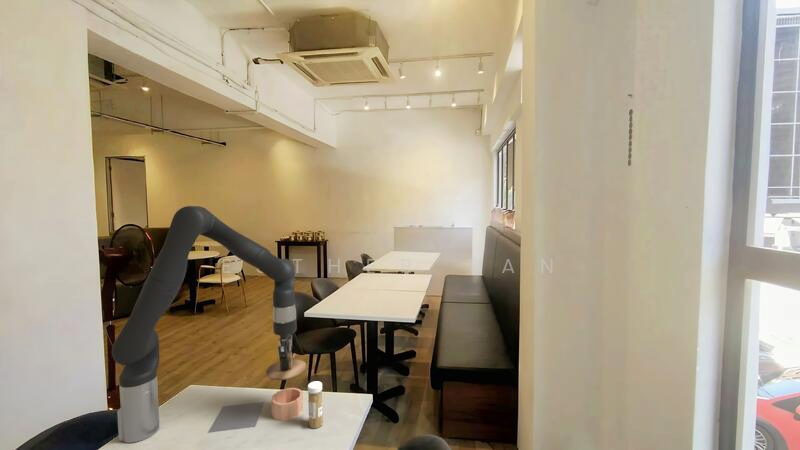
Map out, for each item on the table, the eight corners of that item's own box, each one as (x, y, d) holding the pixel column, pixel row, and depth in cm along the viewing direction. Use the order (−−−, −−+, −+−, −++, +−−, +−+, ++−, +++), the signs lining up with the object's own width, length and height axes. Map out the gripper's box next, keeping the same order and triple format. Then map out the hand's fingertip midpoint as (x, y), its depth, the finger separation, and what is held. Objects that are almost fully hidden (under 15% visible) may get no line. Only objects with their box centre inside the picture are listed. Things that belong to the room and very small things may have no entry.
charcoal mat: (207, 434, 102) (207, 432, 102) (223, 407, 116) (223, 406, 116) (255, 428, 105) (255, 426, 105) (264, 403, 119) (264, 401, 119)
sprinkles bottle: (325, 425, 106) (324, 385, 105) (311, 431, 103) (310, 389, 103) (320, 418, 110) (319, 379, 109) (306, 423, 107) (305, 383, 106)
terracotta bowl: (269, 424, 107) (268, 406, 107) (275, 406, 117) (274, 389, 117) (301, 420, 109) (300, 402, 109) (304, 402, 119) (303, 386, 118)
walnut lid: (262, 382, 105) (261, 365, 104) (270, 363, 117) (270, 349, 117) (304, 377, 107) (303, 361, 107) (307, 359, 120) (307, 345, 120)
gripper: (276, 312, 118) (278, 359, 118) (268, 326, 104) (270, 379, 105) (298, 311, 119) (300, 357, 120) (293, 324, 105) (295, 376, 106)
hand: (286, 367), depth 112 cm, fingers closed on walnut lid, 3 cm apart
